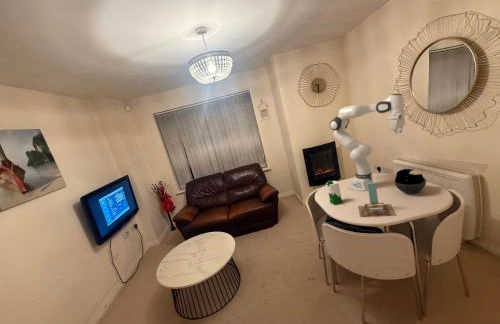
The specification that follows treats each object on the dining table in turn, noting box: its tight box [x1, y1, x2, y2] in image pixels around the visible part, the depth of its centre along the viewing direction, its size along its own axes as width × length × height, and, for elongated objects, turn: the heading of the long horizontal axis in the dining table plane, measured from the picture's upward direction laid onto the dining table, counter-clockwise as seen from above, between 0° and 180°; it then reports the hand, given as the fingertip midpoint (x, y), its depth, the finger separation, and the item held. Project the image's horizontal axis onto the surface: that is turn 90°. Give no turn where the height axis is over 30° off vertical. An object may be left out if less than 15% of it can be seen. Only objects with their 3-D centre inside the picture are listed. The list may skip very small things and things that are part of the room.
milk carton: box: [325, 180, 343, 206], centre depth 186 cm, size 9×9×20 cm
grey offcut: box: [370, 207, 383, 211], centre depth 153 cm, size 8×2×4 cm, turn 68°
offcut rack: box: [357, 202, 398, 218], centre depth 157 cm, size 22×18×4 cm
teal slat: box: [367, 181, 380, 204], centre depth 158 cm, size 5×2×20 cm, turn 68°
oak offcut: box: [367, 203, 384, 209], centre depth 156 cm, size 10×2×5 cm, turn 68°
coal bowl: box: [394, 168, 427, 194], centre depth 171 cm, size 20×20×19 cm
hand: (398, 133), depth 168 cm, fingers open, 8 cm apart
